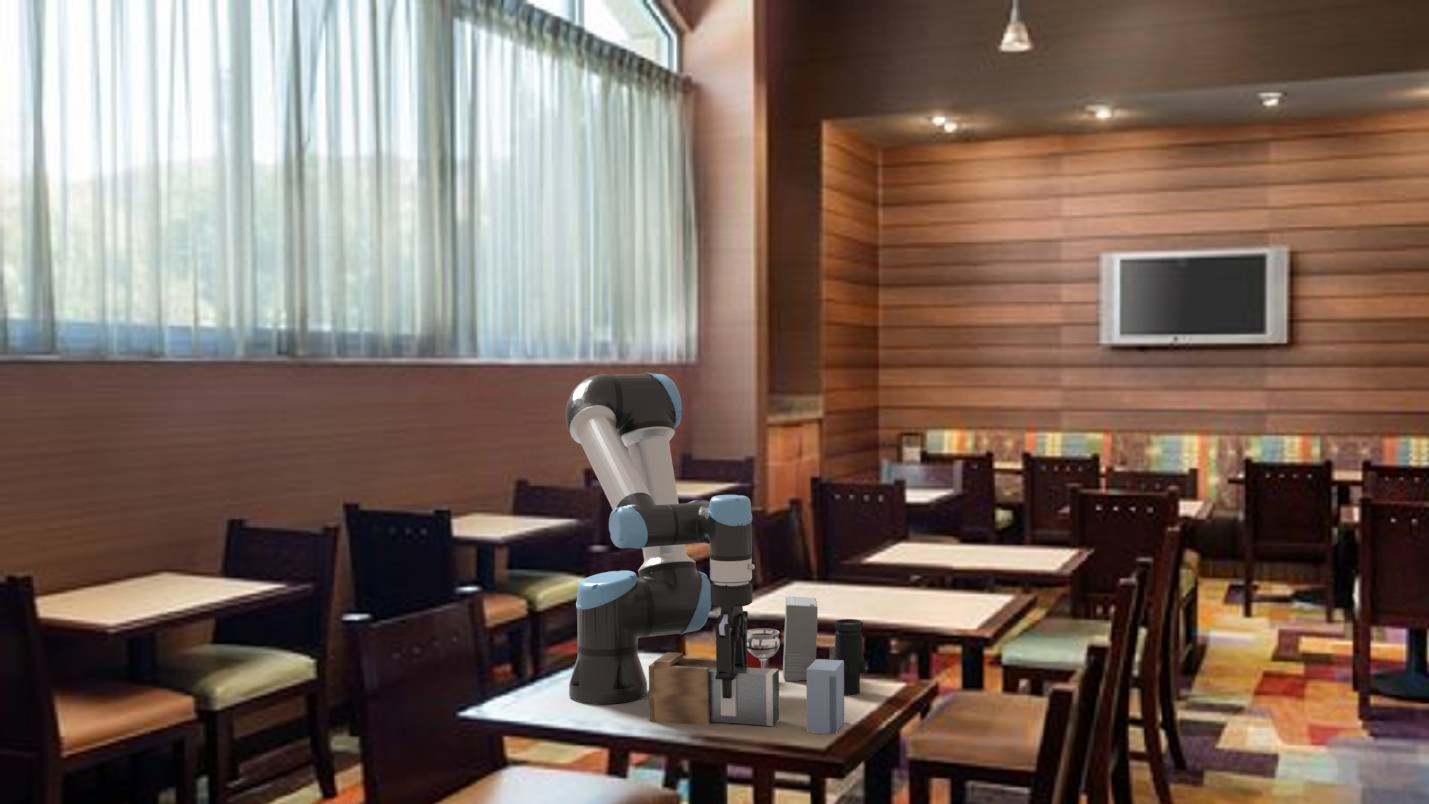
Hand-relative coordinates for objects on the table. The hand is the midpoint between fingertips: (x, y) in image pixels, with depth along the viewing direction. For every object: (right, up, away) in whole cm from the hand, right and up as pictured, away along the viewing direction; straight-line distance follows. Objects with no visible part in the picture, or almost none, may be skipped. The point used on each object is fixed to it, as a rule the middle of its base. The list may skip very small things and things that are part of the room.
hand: (732, 711), depth 237 cm
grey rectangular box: (-2, -2, +1) cm, 3 cm away
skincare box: (+14, -1, +32) cm, 35 cm away
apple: (+3, -1, +29) cm, 30 cm away
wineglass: (+6, -1, +19) cm, 20 cm away
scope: (+22, -1, +20) cm, 29 cm away
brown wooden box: (-8, -2, +2) cm, 9 cm away
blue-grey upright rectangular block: (+16, -2, -5) cm, 17 cm away
